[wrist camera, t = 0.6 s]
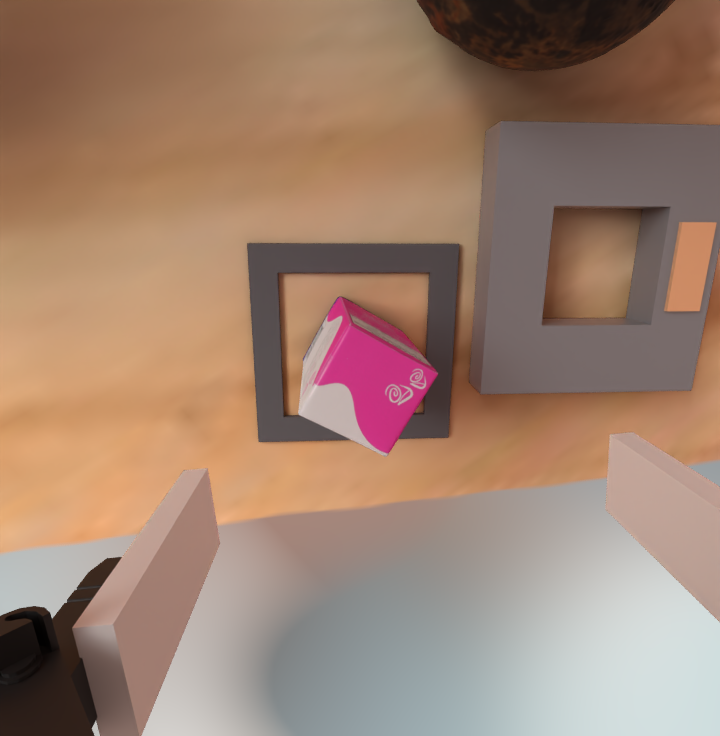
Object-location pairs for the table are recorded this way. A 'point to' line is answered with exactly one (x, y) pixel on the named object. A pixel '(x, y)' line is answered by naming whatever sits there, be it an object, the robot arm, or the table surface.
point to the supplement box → (363, 377)
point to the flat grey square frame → (349, 259)
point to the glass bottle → (540, 28)
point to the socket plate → (651, 266)
